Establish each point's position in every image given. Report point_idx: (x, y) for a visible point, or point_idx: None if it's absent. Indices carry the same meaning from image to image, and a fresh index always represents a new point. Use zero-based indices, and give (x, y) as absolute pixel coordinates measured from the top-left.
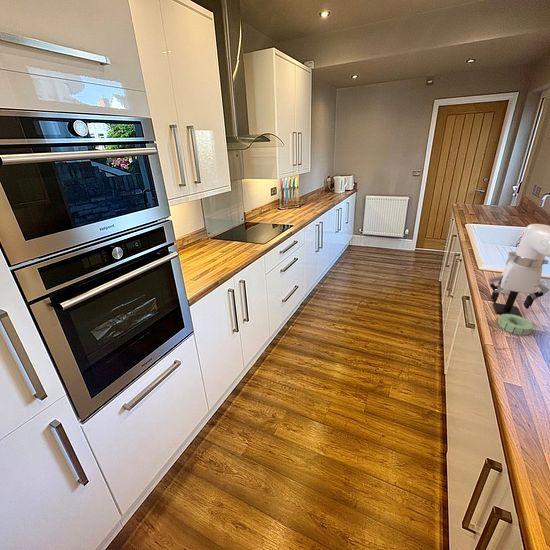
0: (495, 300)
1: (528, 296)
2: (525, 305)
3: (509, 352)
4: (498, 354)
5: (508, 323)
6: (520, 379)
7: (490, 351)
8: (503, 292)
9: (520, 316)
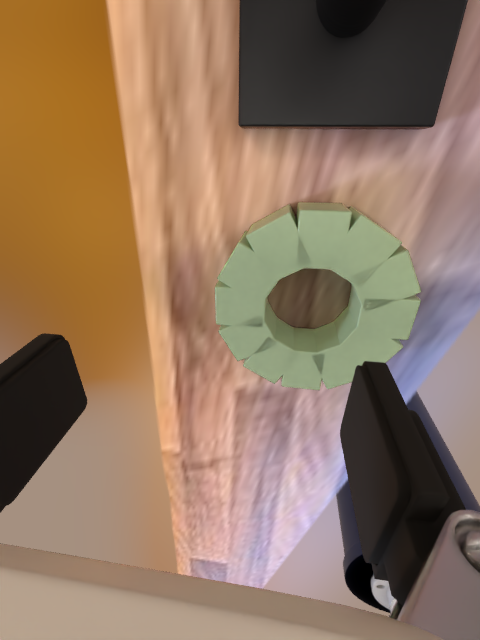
0: (63, 424)
1: (398, 513)
2: (349, 420)
3: (229, 475)
4: (192, 488)
5: (251, 355)
6: (231, 550)
7: (170, 481)
8: None
9: (419, 125)
